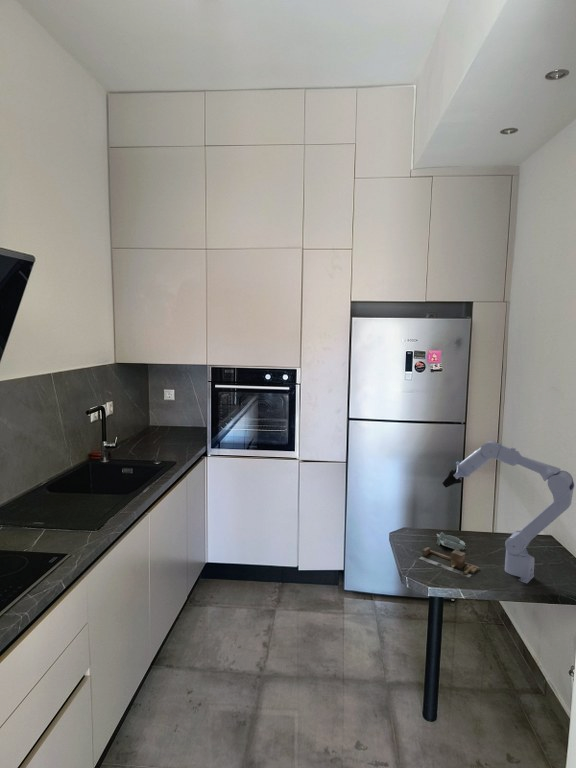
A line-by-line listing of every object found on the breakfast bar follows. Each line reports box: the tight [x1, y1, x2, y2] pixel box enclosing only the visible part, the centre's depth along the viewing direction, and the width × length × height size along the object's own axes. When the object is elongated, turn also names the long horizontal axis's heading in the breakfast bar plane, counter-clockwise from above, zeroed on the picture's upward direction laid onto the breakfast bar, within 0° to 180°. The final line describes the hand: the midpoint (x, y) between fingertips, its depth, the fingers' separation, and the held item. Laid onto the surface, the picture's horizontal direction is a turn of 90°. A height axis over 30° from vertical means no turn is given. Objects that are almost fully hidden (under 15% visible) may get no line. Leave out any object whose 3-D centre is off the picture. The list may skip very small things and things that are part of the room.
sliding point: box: [450, 549, 466, 570], centre depth 181 cm, size 4×6×5 cm, turn 136°
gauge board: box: [418, 546, 480, 578], centre depth 184 cm, size 22×10×4 cm, turn 46°
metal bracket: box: [436, 531, 467, 552], centre depth 201 cm, size 14×6×15 cm
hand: (447, 482), depth 194 cm, fingers open, 7 cm apart
